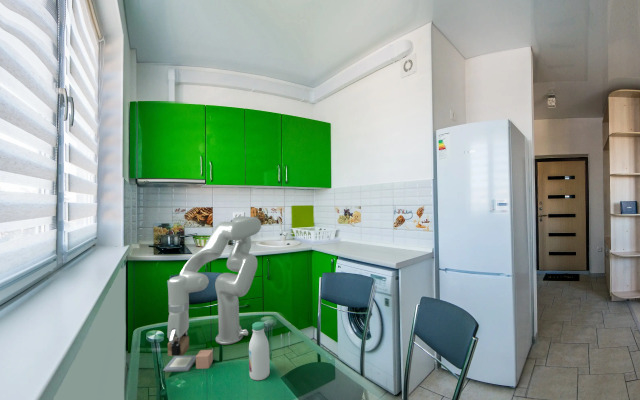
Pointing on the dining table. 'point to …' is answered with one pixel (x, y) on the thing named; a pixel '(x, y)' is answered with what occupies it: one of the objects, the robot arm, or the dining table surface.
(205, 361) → the terracotta block
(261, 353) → the milk bottle
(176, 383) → the dining table surface
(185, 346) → the walnut block
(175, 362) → the plate
